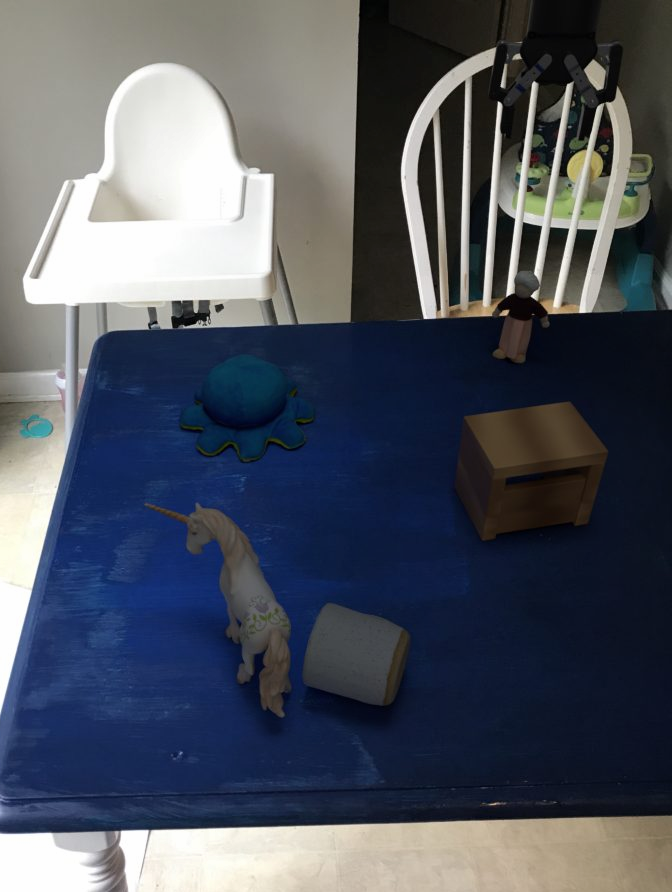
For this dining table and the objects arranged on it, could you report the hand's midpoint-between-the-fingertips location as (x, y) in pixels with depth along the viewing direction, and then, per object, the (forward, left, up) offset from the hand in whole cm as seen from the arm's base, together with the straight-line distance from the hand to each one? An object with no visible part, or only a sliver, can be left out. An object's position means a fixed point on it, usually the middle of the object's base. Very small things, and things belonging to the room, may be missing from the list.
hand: (543, 138), depth 100 cm
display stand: (+12, +34, -27) cm, 45 cm away
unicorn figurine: (+47, +48, -28) cm, 73 cm away
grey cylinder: (+35, +52, -28) cm, 69 cm away
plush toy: (+39, +11, -28) cm, 49 cm away
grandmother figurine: (+1, +5, -28) cm, 28 cm away
